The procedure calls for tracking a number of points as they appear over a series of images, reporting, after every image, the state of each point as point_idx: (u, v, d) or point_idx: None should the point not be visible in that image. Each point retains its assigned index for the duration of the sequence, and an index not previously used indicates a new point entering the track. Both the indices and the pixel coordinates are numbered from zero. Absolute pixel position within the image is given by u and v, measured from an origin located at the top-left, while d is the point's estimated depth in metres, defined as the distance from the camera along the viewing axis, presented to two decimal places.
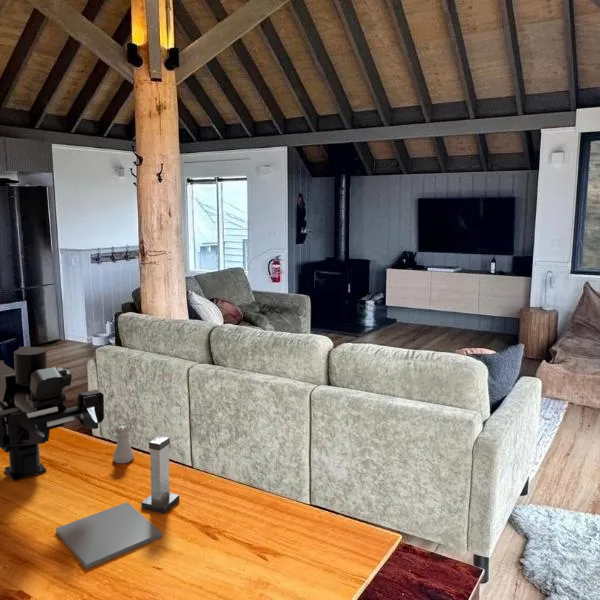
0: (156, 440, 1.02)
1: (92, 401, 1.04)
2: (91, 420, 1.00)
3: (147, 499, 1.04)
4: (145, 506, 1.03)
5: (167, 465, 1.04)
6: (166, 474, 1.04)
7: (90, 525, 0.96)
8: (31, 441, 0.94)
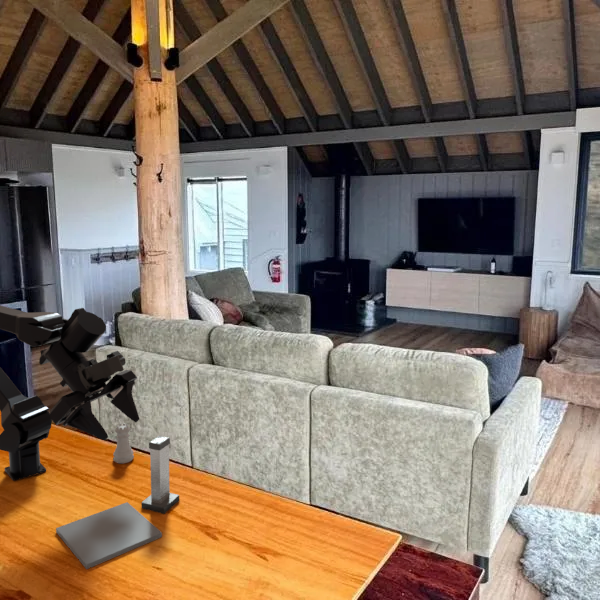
0: (156, 440, 1.02)
1: (131, 387, 1.11)
2: (132, 412, 1.09)
3: (147, 499, 1.04)
4: (145, 506, 1.03)
5: (167, 465, 1.04)
6: (166, 474, 1.04)
7: (90, 525, 0.96)
8: (89, 431, 1.00)
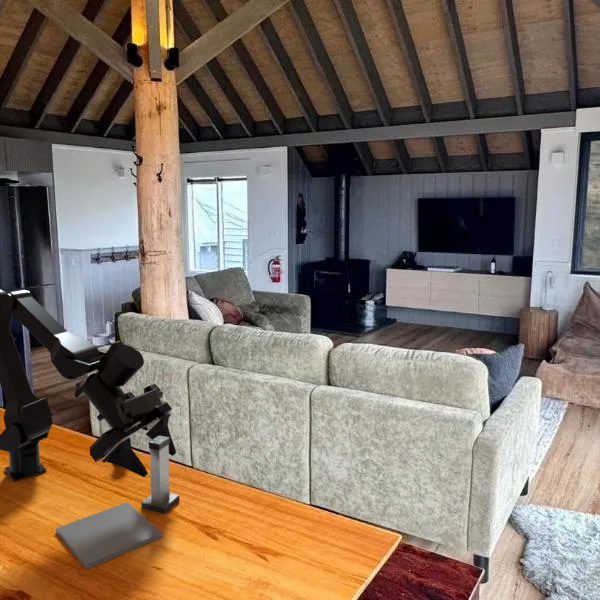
0: (156, 440, 1.02)
1: (167, 420, 1.09)
2: None
3: (147, 499, 1.04)
4: (145, 506, 1.03)
5: (167, 465, 1.04)
6: (166, 474, 1.04)
7: (90, 525, 0.96)
8: (129, 468, 0.99)
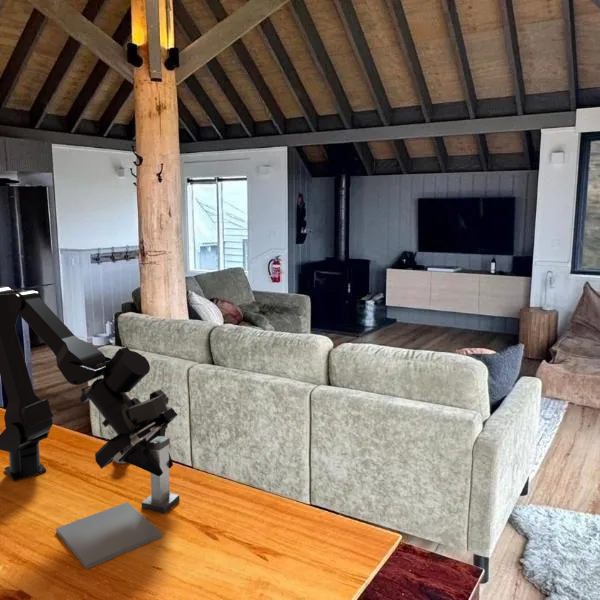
0: (156, 440, 1.02)
1: (164, 431, 1.06)
2: None
3: (147, 499, 1.04)
4: (145, 506, 1.03)
5: (167, 465, 1.04)
6: (166, 474, 1.04)
7: (90, 525, 0.96)
8: (144, 467, 1.01)
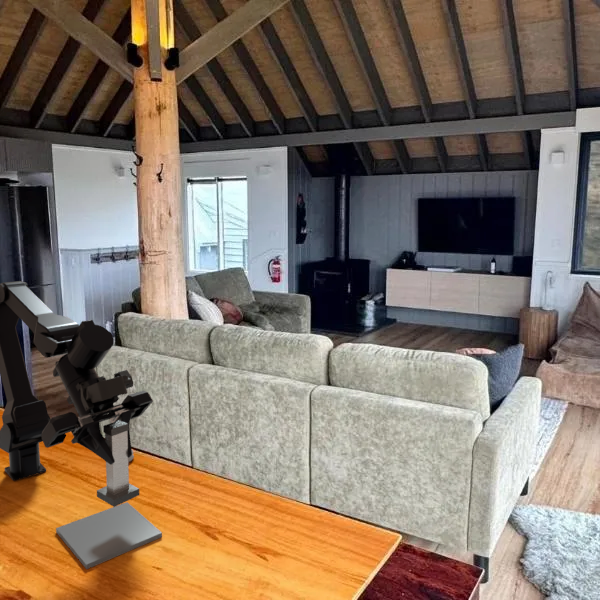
0: (112, 424, 0.93)
1: (129, 416, 0.96)
2: None
3: (104, 488, 0.95)
4: (99, 495, 0.94)
5: (125, 454, 0.94)
6: (123, 463, 0.94)
7: (90, 525, 0.96)
8: (97, 453, 0.92)
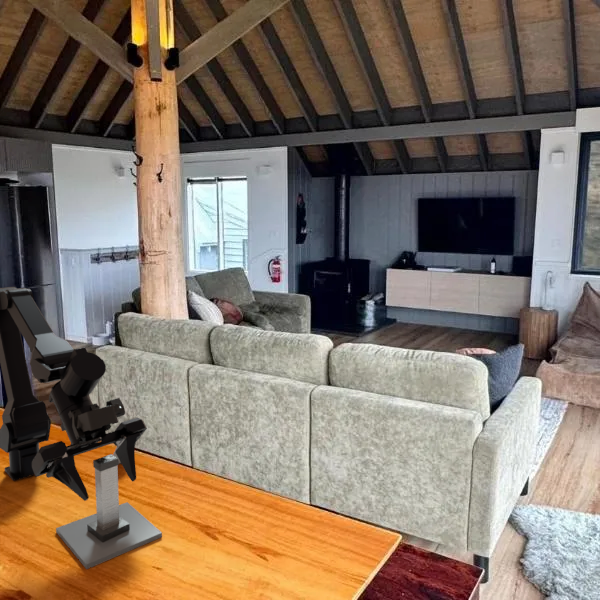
0: (102, 459, 0.92)
1: (134, 440, 0.98)
2: (129, 469, 0.96)
3: (95, 522, 0.95)
4: (90, 529, 0.94)
5: (115, 488, 0.93)
6: (113, 498, 0.93)
7: None
8: (71, 488, 0.90)
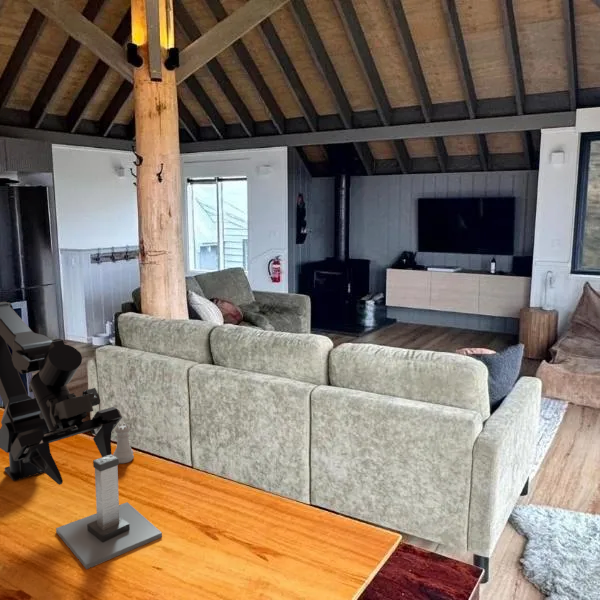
0: (102, 459, 0.92)
1: (111, 427, 1.03)
2: (105, 454, 1.01)
3: (95, 522, 0.95)
4: (90, 529, 0.94)
5: (115, 488, 0.93)
6: (113, 498, 0.93)
7: None
8: (47, 472, 0.95)
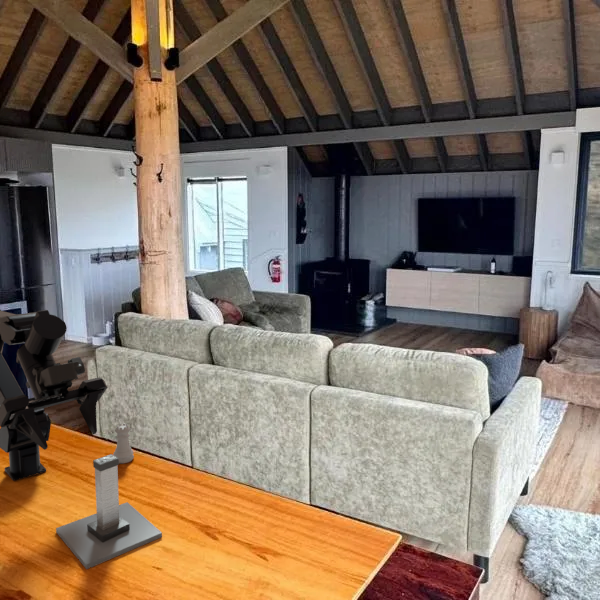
0: (102, 459, 0.92)
1: (96, 397, 1.05)
2: (91, 422, 1.04)
3: (95, 522, 0.95)
4: (90, 529, 0.94)
5: (115, 488, 0.93)
6: (113, 498, 0.93)
7: None
8: (32, 438, 0.97)
